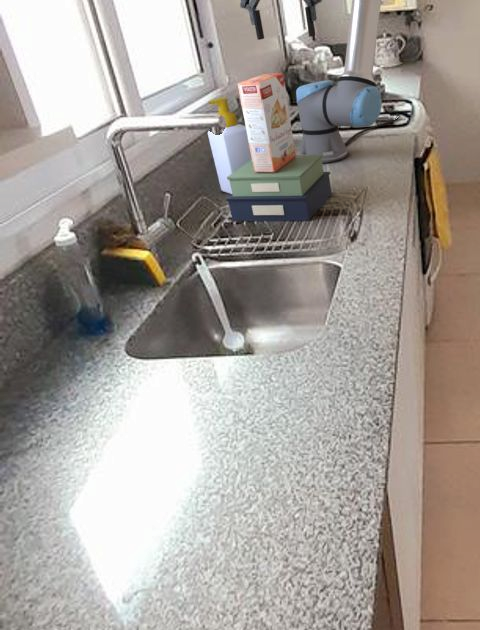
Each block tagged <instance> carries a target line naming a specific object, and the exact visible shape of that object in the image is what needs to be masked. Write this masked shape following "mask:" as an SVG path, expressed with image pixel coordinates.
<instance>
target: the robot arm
mask: <svg viewBox="0 0 480 630" xmlns="http://www.w3.org/2000/svg"><path fill="white" fill-rule="evenodd" d="M260 1H261V0H240V3H239V6H240V8H241V9H244V10H247V11H248V14H249V19H250V24H251V26H254V28H255V33H256V39H257V40H258V41H259V40H264V39H265V34H264V29H263V28H264V27H263V22H262V18H261V12H260V9H257V8H258V6H259V4H260ZM302 1H303V2H304V3H305V4H306V6H305V7H304V10H305V18H306V23H307V24H306V26H307V32H308V37H309V38H311V37H315V36H316V30H315V24H314V23H315V22H316V21H317V18H318V17H317V12H316V5H318V4H320V3H322V2H323V0H302ZM381 5H382V0H351V6H350V7H351V8H350V15H349V24H348V32H347V33H348V34H347V41H346V51H345V58H344V59H345V60H344V67H343V73H342V74H339V75H338V77H337V84H336V85H334V82H333V81H332V80H330V79H328V80H327V79H326V80H320V81H316V82H311V83H306V84H304V85H303V84H302V85H300V86H298V88H296V90H295V95H296V104H297V110H298V115H299V121H300V128H301V133H302V137H301V144H300V152H299V155H313V154H323V157H322V164H329V163H335V162H338V161H341V160H343V159H346V157H348V149H347V145H348V144H349V143H351V142H352V141H353V140H354V139H355V138H357V137H358V136H360V135H361V134H364V133H366V132H369V131H371V130H373V129H377V128H380V127H384V126H386V125H388V124H392V123H394V122H396V121H398V120H399V119H400V117H401V116H400V114H399V113H398V112H397V113H396V118H397V116H399V117H398V118H397V119H396V118H394V119H395V120H394V119H391V120H392V121H391V120H388V121H389V122H388V121H385V122H386V123H385V122H382V123H383V124H382V123H379V124H380V125H379V124H376V125H377V126H376V125H374V124H375V123H376V122H377V121H378V119H379V117H380V114H381V111H382V106H383V100H382V94H381V91H380V90H379V88H378V87H377V82H376V81H375V79H374V78H373V73H374V64H375V57H376V47H377V39H378V31H379V22H380V13H381ZM373 126H374V127H373ZM339 127H353V128H358V129H359V128H365V129H362V130H360V131H357V132H356V133H354V134H353V135H351V137H350V138H348V139H347V140H346V141H344V139H343V137H342V136H341V134H340V129H339Z"/></svg>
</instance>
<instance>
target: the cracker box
mask: <svg viewBox="0 0 480 630" xmlns="http://www.w3.org/2000/svg"><path fill="white" fill-rule="evenodd" d="M237 87H238V93H239V99H240V104H241V109H242V114H243V119H244V124H245V125H244V126H246V130H247V136H248V141H249V146H250V151H251V157H252V161H253V167H254V172H260V173H275V172H276V171H278V170H279V169H280V168H282V167H283V166H284V165H286V164H287V163H289V162H290V161H291V160H293V159H294V158H295V157H296V155H297V154H296V149H295V142H294V136H293V129H292V123H291V116H290V109H289V104H288V97H287V90H286V83H285V76H284V73H279V72H278V73H277V72H276V73H275V72H274V73H273V72H272V73H262V74H259V75H257V76H254V77H251V78H249V79H246V80H243V81H240V82H238V83H237Z"/></svg>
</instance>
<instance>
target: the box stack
mask: <svg viewBox="0 0 480 630" xmlns="http://www.w3.org/2000/svg"><path fill="white" fill-rule="evenodd" d="M295 155H296V157H295V158H294V159H293V160H291V161H290V162H289V163H287V164H286V165H284V166H283V167H282V168H280V169H279V170H278V171H276V172H275V173H260V172H254V167H253V161H252V159H251V160H250V161H249V162H247V163H246V164H244V165H243V166H242V167H240V168H239V169H237V170H236V171H235V172H233V173H232V174H231V175H229V176H228V177H227V180H229V182H230V186H231V190H232V194H229V195H228V196H227V197H225V201H226V202H228V206H229V211H230V215H231V219H232V220H231V221H233V222H283V221H284V222H291V221H292V222H293V221H295V222H297V221H298V222H300V221H301V222H303V221H306V222H307V221H308V222H309V221H310V220H311V219H312V218H313V217H314V216H315V214H316V213H317V212H318V211H319V210H320V208H321V207H322V206H323V205H324V203H326V201H327V200H328V199H329V197H330V196H331V195H332V194H333V193H332V186H331V179H330V175H331V171H324V165H323V164H324V163H322V157H323V154H313V155H300V154H295Z"/></svg>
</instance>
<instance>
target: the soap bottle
mask: <svg viewBox="0 0 480 630" xmlns="http://www.w3.org/2000/svg"><path fill="white" fill-rule="evenodd" d="M208 104H209V105H217V108H218V113H216V115H222V116H223V117H224V118H225V121H226V126H225V129H224V131H223V133H222V134H220V135H215V134H213V133H212V132H210V131H209V130H208V131H207V136H208V141H209V144H210V149H211V154H212V157H213V163H214V165H215V170H216V174H217V178H218V182H219V186H220V190H221V191H222V192H223V193H226V194H229V195H231V194H232V190H231V186H230V182H229V180H227V177H228V176H229V175H231V174H232V173H233V172H235V171H236V170H237V169H239V168H240V167H242V166H243V165H244V164H246V163H247V162H249V161H250V160H251V159H252V157H251V151H250V146H249V141H248V136H247V130H246V125H244V124H241V123H239V122H238V117H237V115H236V113H234V112H232V111H230V108H229V103H228V99H227V97H218V98H214V99H211V100H208Z"/></svg>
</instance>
